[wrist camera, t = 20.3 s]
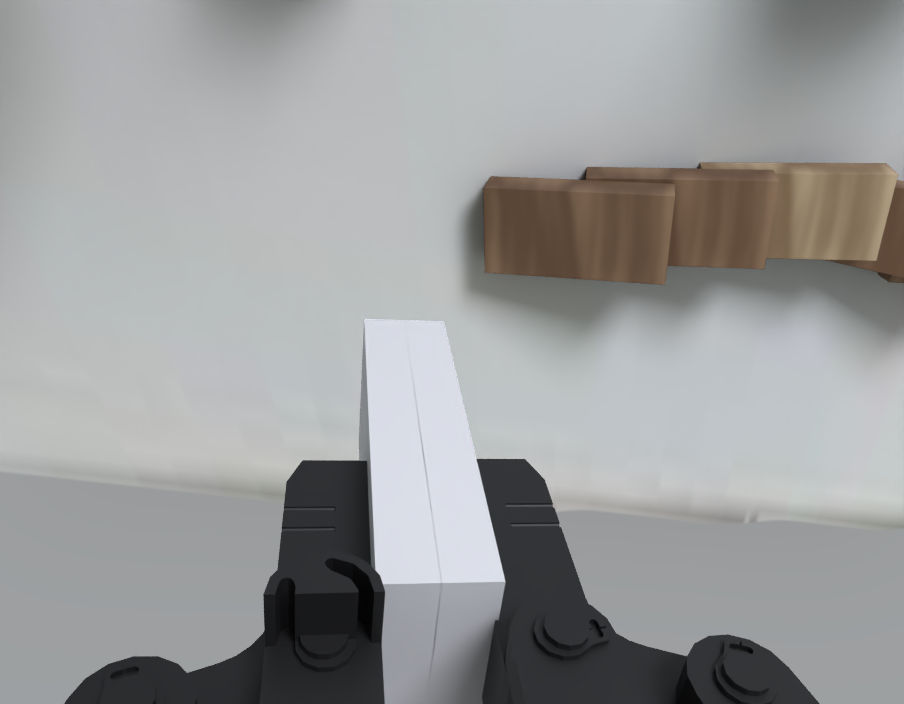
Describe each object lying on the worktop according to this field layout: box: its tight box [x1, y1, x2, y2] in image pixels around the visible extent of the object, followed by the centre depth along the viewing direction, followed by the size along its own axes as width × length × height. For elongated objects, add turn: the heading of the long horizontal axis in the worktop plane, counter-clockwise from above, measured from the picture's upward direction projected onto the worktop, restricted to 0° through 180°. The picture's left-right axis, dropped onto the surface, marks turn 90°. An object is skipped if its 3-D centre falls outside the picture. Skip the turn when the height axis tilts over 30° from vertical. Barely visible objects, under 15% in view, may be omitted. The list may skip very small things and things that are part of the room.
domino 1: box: [484, 176, 675, 285], centre depth 43 cm, size 2×5×10 cm
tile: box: [699, 163, 898, 261], centre depth 44 cm, size 2×5×10 cm
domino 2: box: [586, 167, 780, 269], centre depth 44 cm, size 2×5×10 cm
